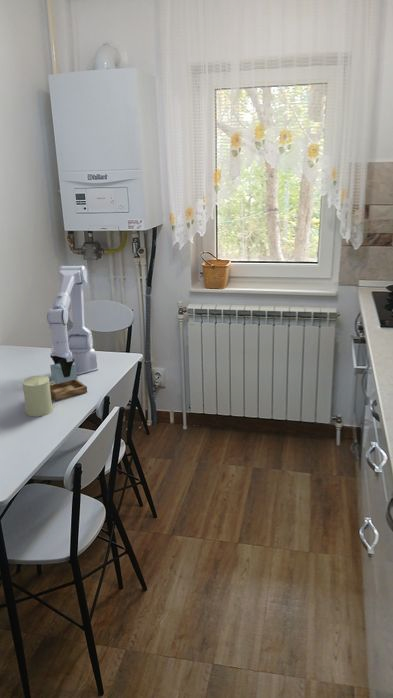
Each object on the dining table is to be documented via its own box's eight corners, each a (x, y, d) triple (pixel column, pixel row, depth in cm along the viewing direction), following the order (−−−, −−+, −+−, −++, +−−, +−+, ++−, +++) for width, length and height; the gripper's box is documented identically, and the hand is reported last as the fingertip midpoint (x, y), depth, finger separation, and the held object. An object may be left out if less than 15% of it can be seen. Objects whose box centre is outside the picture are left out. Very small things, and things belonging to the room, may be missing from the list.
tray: (75, 384, 215) (74, 378, 214) (87, 392, 207) (86, 386, 206) (44, 392, 208) (43, 386, 207) (55, 401, 200) (55, 395, 199)
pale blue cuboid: (71, 375, 210) (70, 360, 208) (77, 378, 206) (75, 364, 204) (51, 380, 205) (50, 365, 203) (57, 384, 201) (55, 369, 199)
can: (28, 418, 187) (24, 386, 183) (23, 408, 194) (19, 377, 190) (55, 412, 191) (52, 381, 187) (49, 403, 198) (45, 372, 194)
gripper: (42, 337, 203) (46, 371, 208) (57, 347, 192) (61, 382, 197) (59, 334, 207) (63, 367, 212) (76, 343, 196) (79, 378, 201)
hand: (63, 374), depth 205 cm, fingers closed on pale blue cuboid, 5 cm apart
